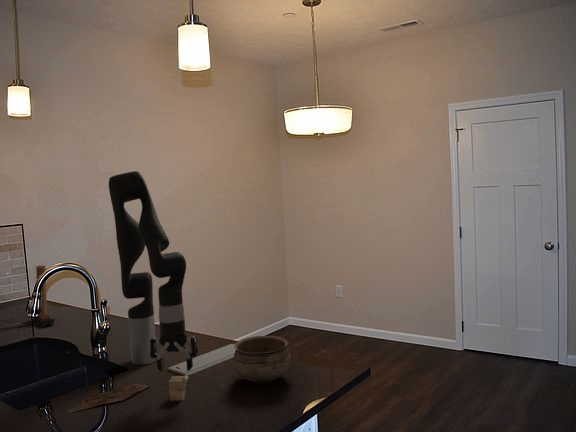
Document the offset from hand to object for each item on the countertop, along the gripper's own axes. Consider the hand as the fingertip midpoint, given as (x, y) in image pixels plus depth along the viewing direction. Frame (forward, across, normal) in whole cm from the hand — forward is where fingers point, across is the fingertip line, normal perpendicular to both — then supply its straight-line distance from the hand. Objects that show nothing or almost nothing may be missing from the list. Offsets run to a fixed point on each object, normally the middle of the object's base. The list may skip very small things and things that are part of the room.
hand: (175, 370), depth 160 cm
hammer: (+8, +93, -89) cm, 128 cm away
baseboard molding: (+9, -4, -32) cm, 34 cm away
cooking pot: (+9, -25, -13) cm, 30 cm away
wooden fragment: (+9, +22, -1) cm, 24 cm away
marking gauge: (+9, 0, -5) cm, 10 cm away
